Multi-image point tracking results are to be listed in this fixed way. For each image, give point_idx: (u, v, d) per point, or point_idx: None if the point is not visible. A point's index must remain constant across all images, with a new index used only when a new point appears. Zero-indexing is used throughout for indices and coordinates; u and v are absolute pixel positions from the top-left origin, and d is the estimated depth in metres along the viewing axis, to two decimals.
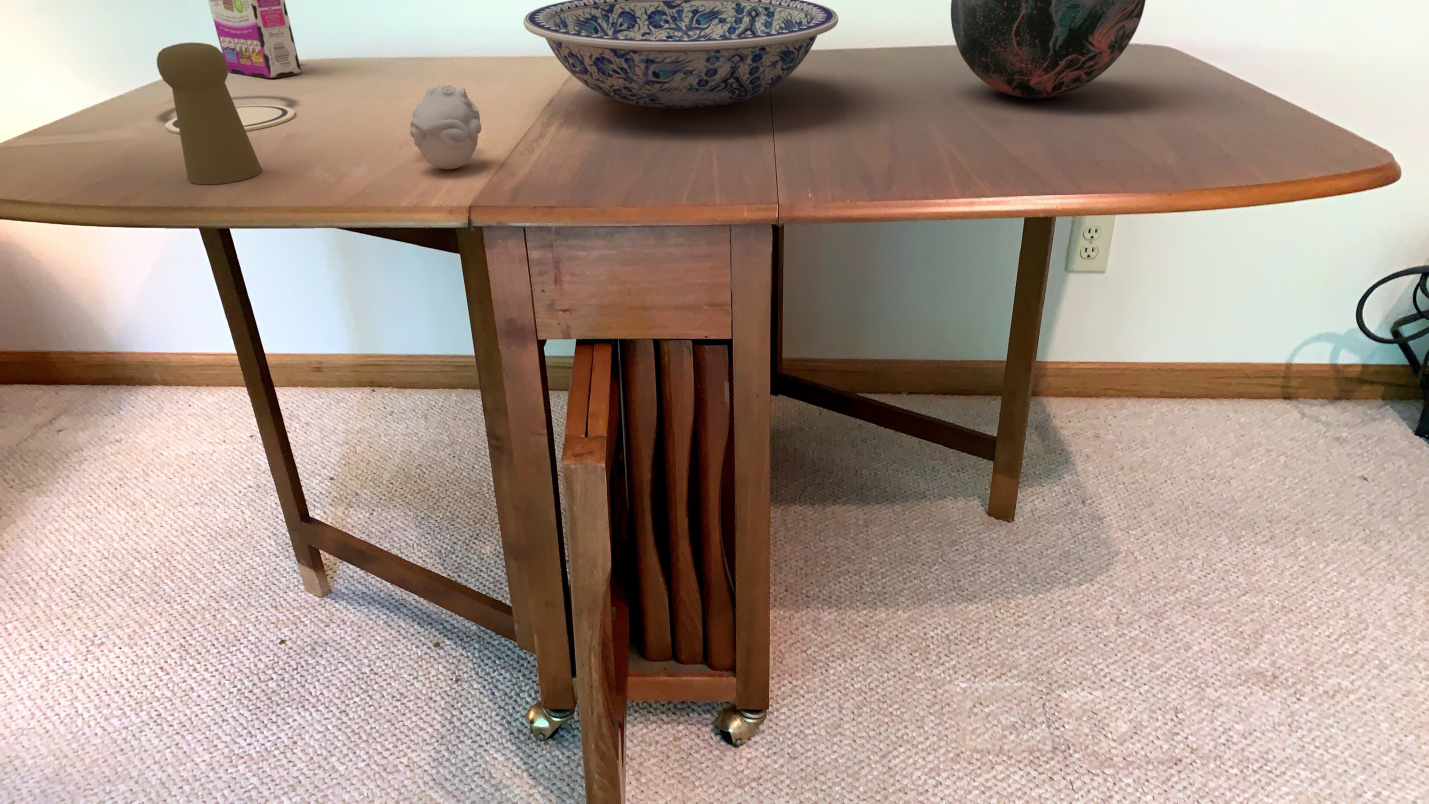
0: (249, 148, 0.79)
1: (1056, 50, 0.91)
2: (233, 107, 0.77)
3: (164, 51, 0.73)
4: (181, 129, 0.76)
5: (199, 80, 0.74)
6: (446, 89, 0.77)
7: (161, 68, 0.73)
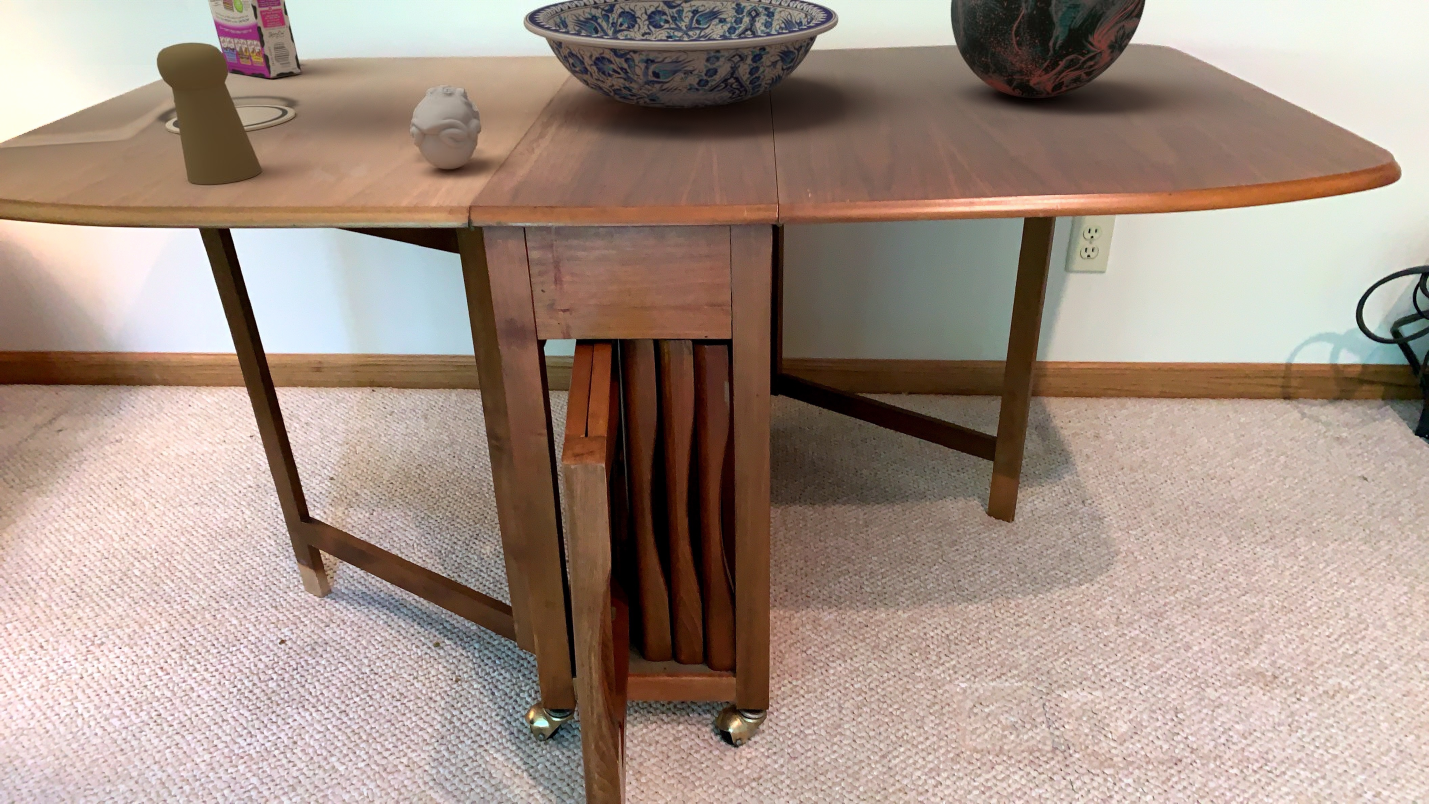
0: (249, 148, 0.79)
1: (1056, 50, 0.91)
2: (233, 107, 0.77)
3: (164, 51, 0.73)
4: (181, 129, 0.76)
5: (199, 80, 0.74)
6: (446, 89, 0.77)
7: (161, 68, 0.73)
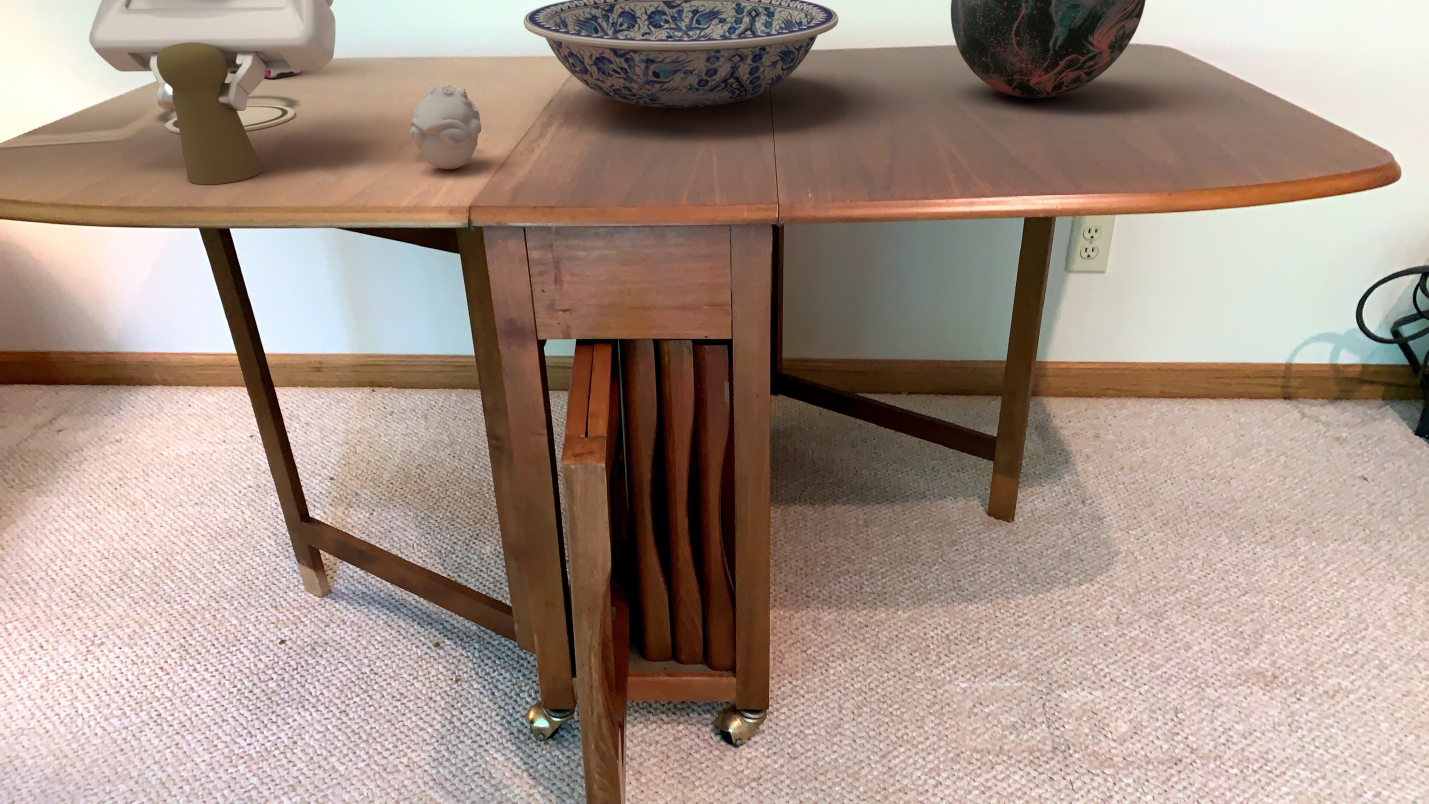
0: (249, 148, 0.79)
1: (1056, 50, 0.91)
2: None
3: (164, 51, 0.73)
4: (181, 129, 0.76)
5: (199, 80, 0.74)
6: (446, 89, 0.77)
7: (161, 68, 0.73)
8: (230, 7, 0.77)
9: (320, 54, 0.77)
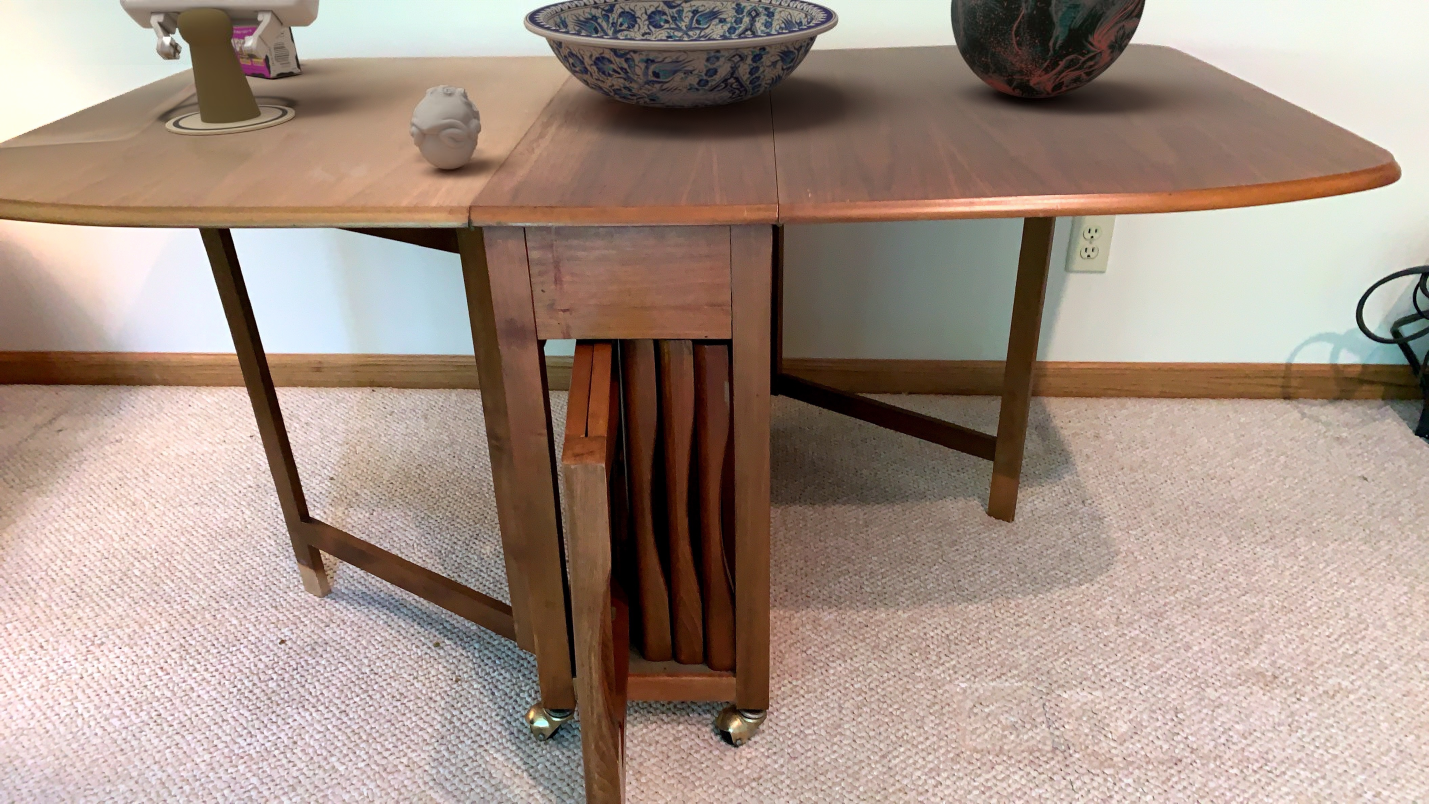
0: (250, 95, 0.97)
1: (1056, 50, 0.91)
2: (238, 61, 0.96)
3: (183, 14, 0.92)
4: (196, 78, 0.95)
5: (211, 37, 0.92)
6: (446, 89, 0.77)
7: (180, 28, 0.92)
8: None
9: (306, 13, 0.95)
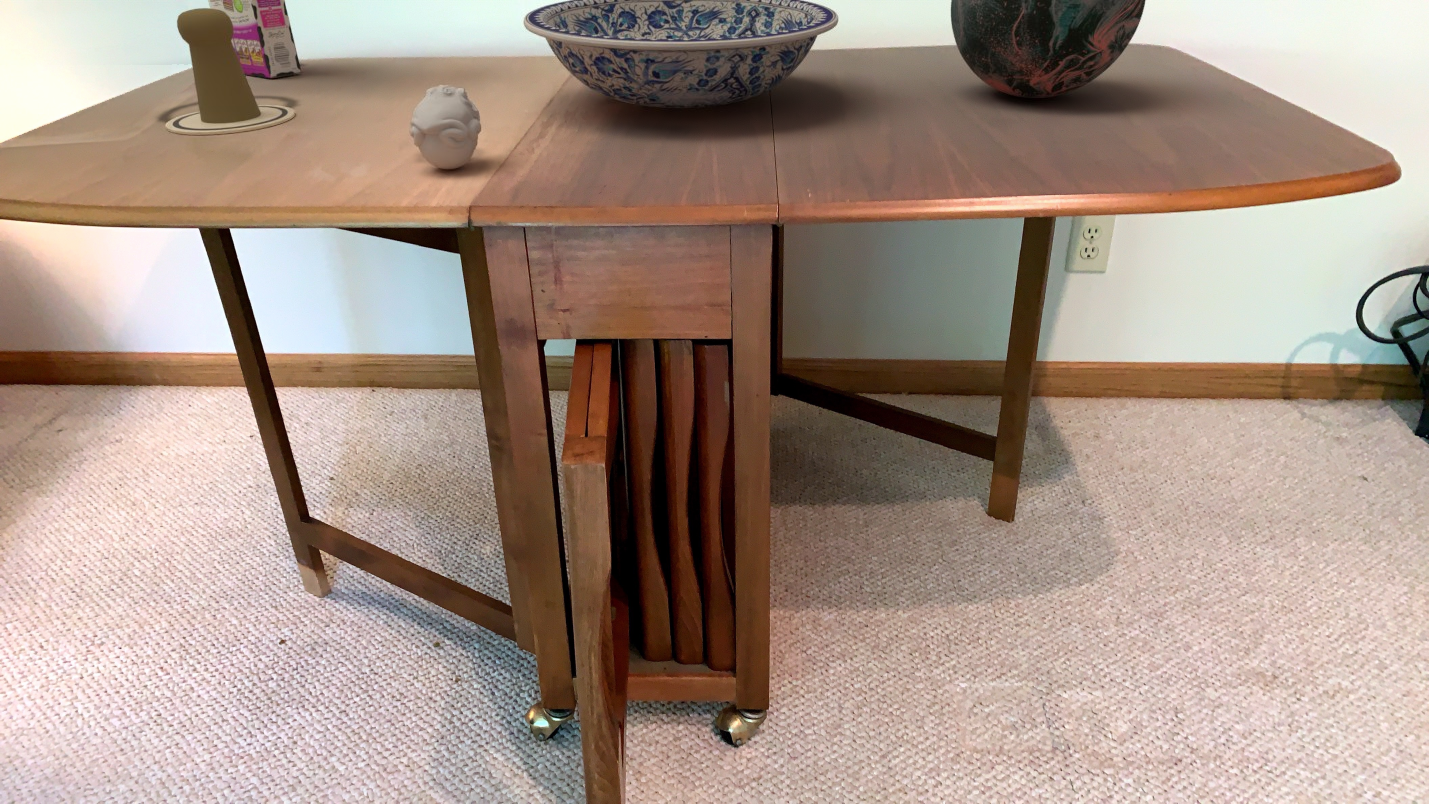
0: (250, 95, 0.97)
1: (1056, 50, 0.91)
2: (238, 61, 0.96)
3: (183, 14, 0.92)
4: (196, 78, 0.95)
5: (211, 37, 0.92)
6: (446, 89, 0.77)
7: (180, 28, 0.92)
8: None
9: None
